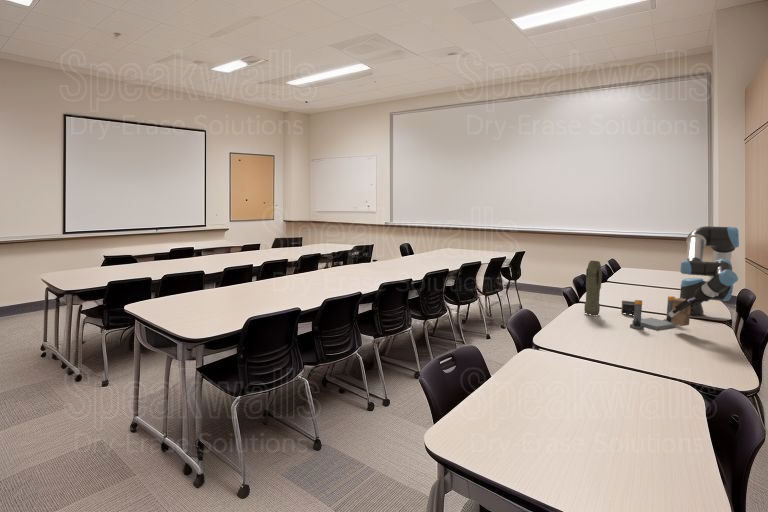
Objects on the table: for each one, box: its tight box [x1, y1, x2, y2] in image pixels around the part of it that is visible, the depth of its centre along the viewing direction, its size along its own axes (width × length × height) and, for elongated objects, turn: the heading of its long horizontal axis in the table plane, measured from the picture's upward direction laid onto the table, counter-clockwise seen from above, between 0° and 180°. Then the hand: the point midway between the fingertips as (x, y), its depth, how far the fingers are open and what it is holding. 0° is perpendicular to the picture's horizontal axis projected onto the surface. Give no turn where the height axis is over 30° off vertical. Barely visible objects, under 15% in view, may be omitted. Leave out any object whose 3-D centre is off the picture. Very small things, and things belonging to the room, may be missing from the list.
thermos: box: [583, 260, 603, 315], centre depth 282 cm, size 9×12×35 cm
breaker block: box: [671, 297, 691, 327], centre depth 243 cm, size 6×7×14 cm
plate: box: [632, 317, 676, 331], centre depth 259 cm, size 16×15×2 cm
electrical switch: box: [620, 299, 635, 316], centre depth 283 cm, size 9×5×9 cm, turn 57°
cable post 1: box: [629, 299, 645, 330], centre depth 253 cm, size 7×7×16 cm
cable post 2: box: [662, 295, 676, 322], centre depth 263 cm, size 7×7×16 cm
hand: (674, 314), depth 246 cm, fingers closed on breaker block, 6 cm apart
